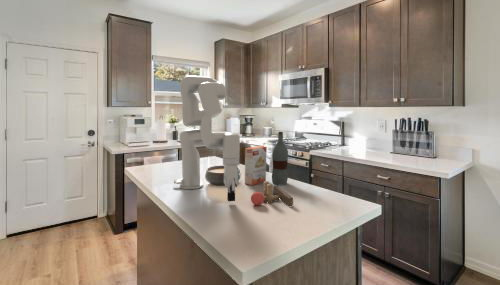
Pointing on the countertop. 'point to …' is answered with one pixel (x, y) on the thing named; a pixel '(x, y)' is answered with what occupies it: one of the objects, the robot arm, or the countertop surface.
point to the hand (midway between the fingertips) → (231, 200)
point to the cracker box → (255, 165)
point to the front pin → (272, 197)
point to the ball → (257, 198)
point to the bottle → (280, 162)
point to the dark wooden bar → (283, 195)
